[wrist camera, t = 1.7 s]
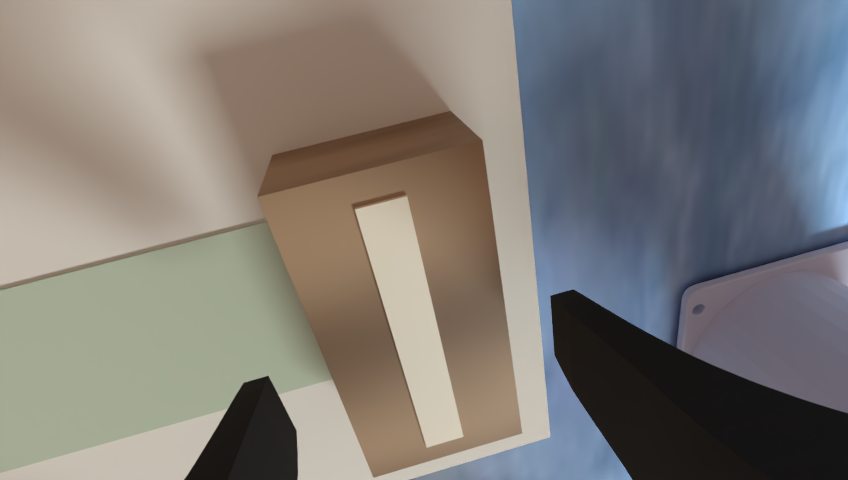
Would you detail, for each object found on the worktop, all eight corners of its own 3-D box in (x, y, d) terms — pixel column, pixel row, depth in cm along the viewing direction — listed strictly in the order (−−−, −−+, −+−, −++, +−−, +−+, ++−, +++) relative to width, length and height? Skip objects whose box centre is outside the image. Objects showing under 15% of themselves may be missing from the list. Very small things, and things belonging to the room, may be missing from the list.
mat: (544, 425, 21) (551, 439, 20) (96, 559, 19) (89, 578, 19) (491, -124, 11) (501, -131, 10) (-425, 72, 10) (-477, 78, 9)
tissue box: (493, 368, 18) (523, 435, 15) (366, 405, 17) (373, 480, 14) (450, 110, 13) (483, 141, 10) (272, 154, 12) (256, 199, 10)
